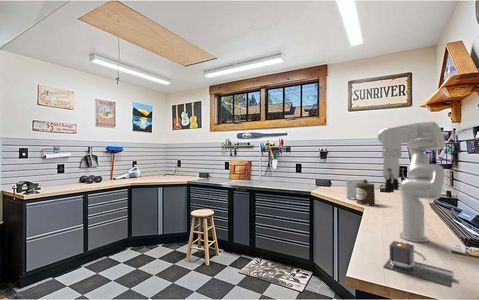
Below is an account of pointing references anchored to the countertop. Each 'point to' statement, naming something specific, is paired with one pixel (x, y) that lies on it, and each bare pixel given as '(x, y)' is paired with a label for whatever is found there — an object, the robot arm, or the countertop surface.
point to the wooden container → (365, 193)
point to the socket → (401, 252)
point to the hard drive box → (352, 187)
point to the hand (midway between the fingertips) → (392, 190)
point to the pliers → (418, 253)
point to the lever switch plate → (422, 271)
